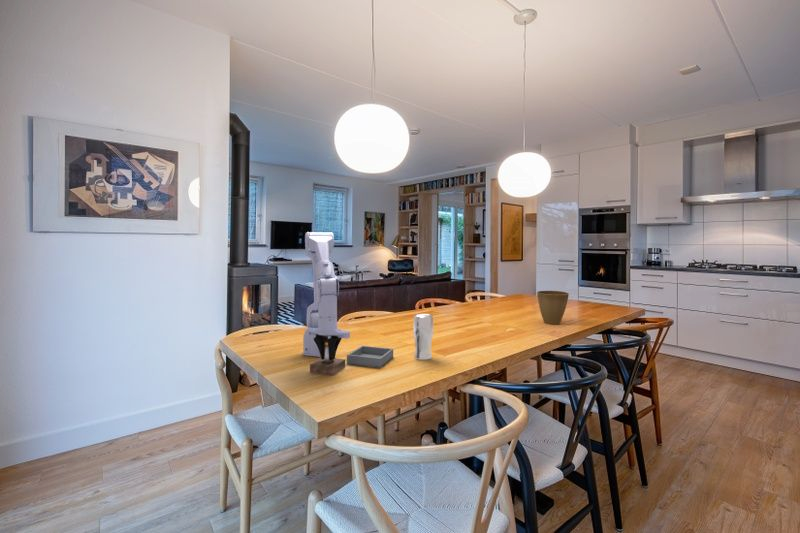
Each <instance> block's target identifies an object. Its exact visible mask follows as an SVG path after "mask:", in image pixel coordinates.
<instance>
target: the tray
mask: <svg viewBox="0 0 800 533" xmlns="http://www.w3.org/2000/svg"><path fill="white" fill-rule="evenodd" d="M393 358H394V349H393V348H389V347H388V348H387V347H380V346H379V347H378V346H369V345H361V346H359V347H357V348H356V349H355V350H352V351H350V353H348V354H346V364H347V365H352V366H359V367H369V368H378V369H381V368H382V367H383V366H384V365H386V364H387V363H389V362H390V361H391V360H392V359H393Z"/></svg>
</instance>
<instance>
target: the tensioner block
mask: <svg viewBox="0 0 800 533" xmlns="http://www.w3.org/2000/svg"><path fill="white" fill-rule="evenodd" d="M345 368H346V359H344V358H337V357H335V359H333V360H332V363H331V364H325V363H324V359H321V358H319V359H317V360H315V361H314V362H311V363H309V372H310V373H312V374H319V375H327V376H335V375H336V374H337V373H338V372H340V371H342V370H344V369H345Z"/></svg>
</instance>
